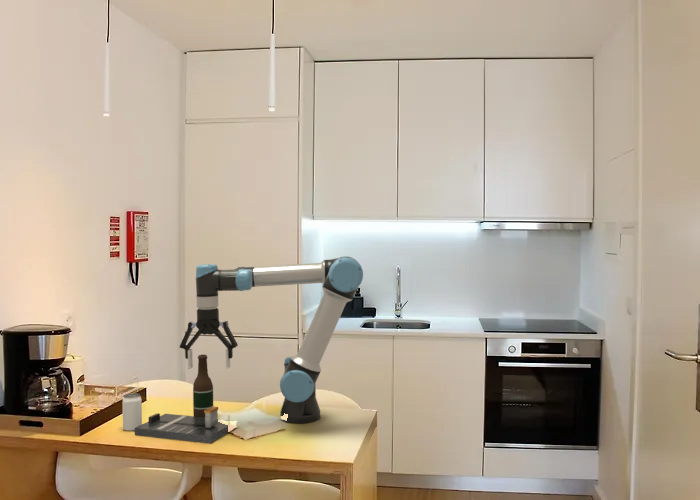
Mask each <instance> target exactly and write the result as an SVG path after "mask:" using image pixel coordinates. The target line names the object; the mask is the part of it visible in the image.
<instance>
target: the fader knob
mask: <svg viewBox="0 0 700 500" xmlns="http://www.w3.org/2000/svg"><path fill="white" fill-rule="evenodd" d="M218 410H219V407H218V406H214V405H213V406H212V407H210V408H208V409H206V410H204V413H205V427H208V428H211V427H213V426H214V425H216V424H218V419H219V418H218V414H219V413H218Z"/></svg>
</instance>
